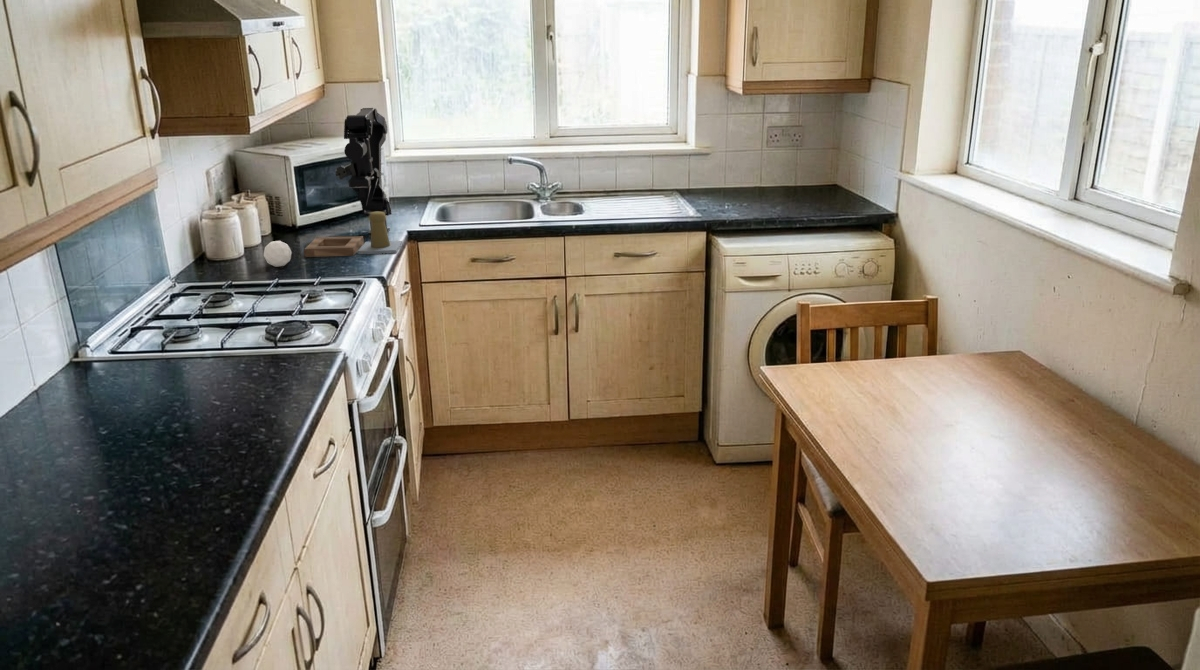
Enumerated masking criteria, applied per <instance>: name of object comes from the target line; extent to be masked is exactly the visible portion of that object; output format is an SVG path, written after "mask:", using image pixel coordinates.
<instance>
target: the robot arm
mask: <svg viewBox="0 0 1200 670" xmlns="http://www.w3.org/2000/svg"><path fill="white" fill-rule="evenodd" d="M343 125H344V127H343V128H344V129H343V139H344V140H348V143H347V144H346V145H345V147H344V154H345V156H346V158H347V159H349V160H350V163H349V164H347V165H340V166H337V167H336V169H335V176H336V177H338V179H339V181H341V180H343V179H344V178H347V177H350V176H351V177H350V178H349V180H348V182H347V183H348V188H350V189H351V190H353V191H354V192H356V194H357V196H358V199H359V201H360V204H361V209H362V213H363V214H362V215H363V217H369V215H370V213H372V212H376V211H380V212H384V213H385V215H386V217H387V216H390V215H392V206H391V203H390V201H389V199H388V197H387V194H386V192H385V191H384V190H383V187H382V146H383V145H384V144H385V142H386V139H387V134H388V124H387V121H386V118H385V117H384V116H383V115H382V114H380V113H379V112H378V110H377V108H374V107H363V108H360V111H359V112H358V113H357V114H349V115H347V116H346V118H345V119H344V123H343ZM368 220H369V219H368ZM387 220H388V219H386V220H385V226H386V230H387V234H388V233H389V232H390V231H391V228H389V227H388V223H387ZM369 229H370V230H369V231H368V232H367V234H368V235H371V222H370V220H369Z"/></svg>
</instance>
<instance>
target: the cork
mask: <svg viewBox="0 0 1200 670" xmlns="http://www.w3.org/2000/svg"><path fill="white" fill-rule="evenodd" d="M368 220H370V222H371V234H370V242H371V247H372V248H385V247H389V246H390V242H389V241H390V238H389V235H388V233H387V230H386V226H385V220H387V215H385V213H384V212H380V211H376V212H372V213H370V215H369V216H368ZM370 222H369V223H370Z"/></svg>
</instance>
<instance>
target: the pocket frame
mask: <svg viewBox="0 0 1200 670" xmlns="http://www.w3.org/2000/svg"><path fill="white" fill-rule="evenodd" d="M364 243H365V241H364V236H363V235H361V236H354V235H353V236H326V237H323V236H322V237H320V236H319V237H318V236H317V237H316V238H314V239H313V240H312V241H311V242H310V243H309V244H308V245H306V246H305V248H304V249H303V251H304V258H312V257H313V258H314V257H317V258H318V257H352V256H353V255H354V256H355V255H356V254H357V253H358V250H359V249H360V248H361V247H362V245H363V244H364Z"/></svg>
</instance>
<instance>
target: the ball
mask: <svg viewBox="0 0 1200 670" xmlns="http://www.w3.org/2000/svg"><path fill="white" fill-rule="evenodd" d="M263 258H264V259H265V261H266V262H267V264H269V265H271V266H273V267H275V268H279V267H284V266H286V265H287V264H288V263H289V262H290V261H291V259H292V250H291V247H290V246H289V244H287V243H285V242H283V241H281V240H275V241H270V242H269V243H268V244H266V246H264V251H263Z"/></svg>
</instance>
